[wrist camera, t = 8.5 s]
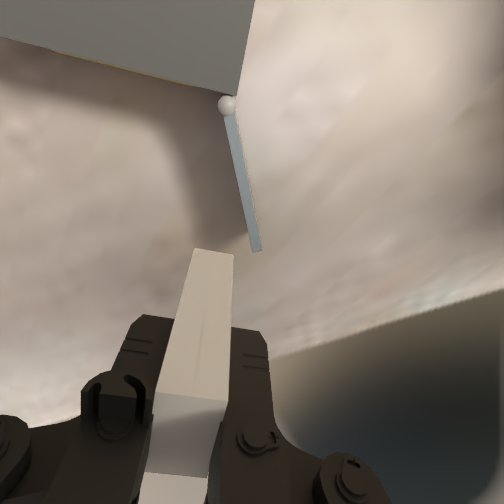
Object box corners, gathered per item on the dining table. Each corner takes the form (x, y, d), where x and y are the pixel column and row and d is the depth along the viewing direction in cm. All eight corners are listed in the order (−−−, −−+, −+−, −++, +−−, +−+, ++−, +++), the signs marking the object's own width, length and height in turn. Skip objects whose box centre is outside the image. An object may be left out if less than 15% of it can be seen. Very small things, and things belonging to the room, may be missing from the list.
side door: (219, 94, 28) (215, 97, 23) (234, 90, 28) (233, 94, 22) (248, 227, 33) (250, 256, 28) (260, 225, 33) (264, 253, 28)
